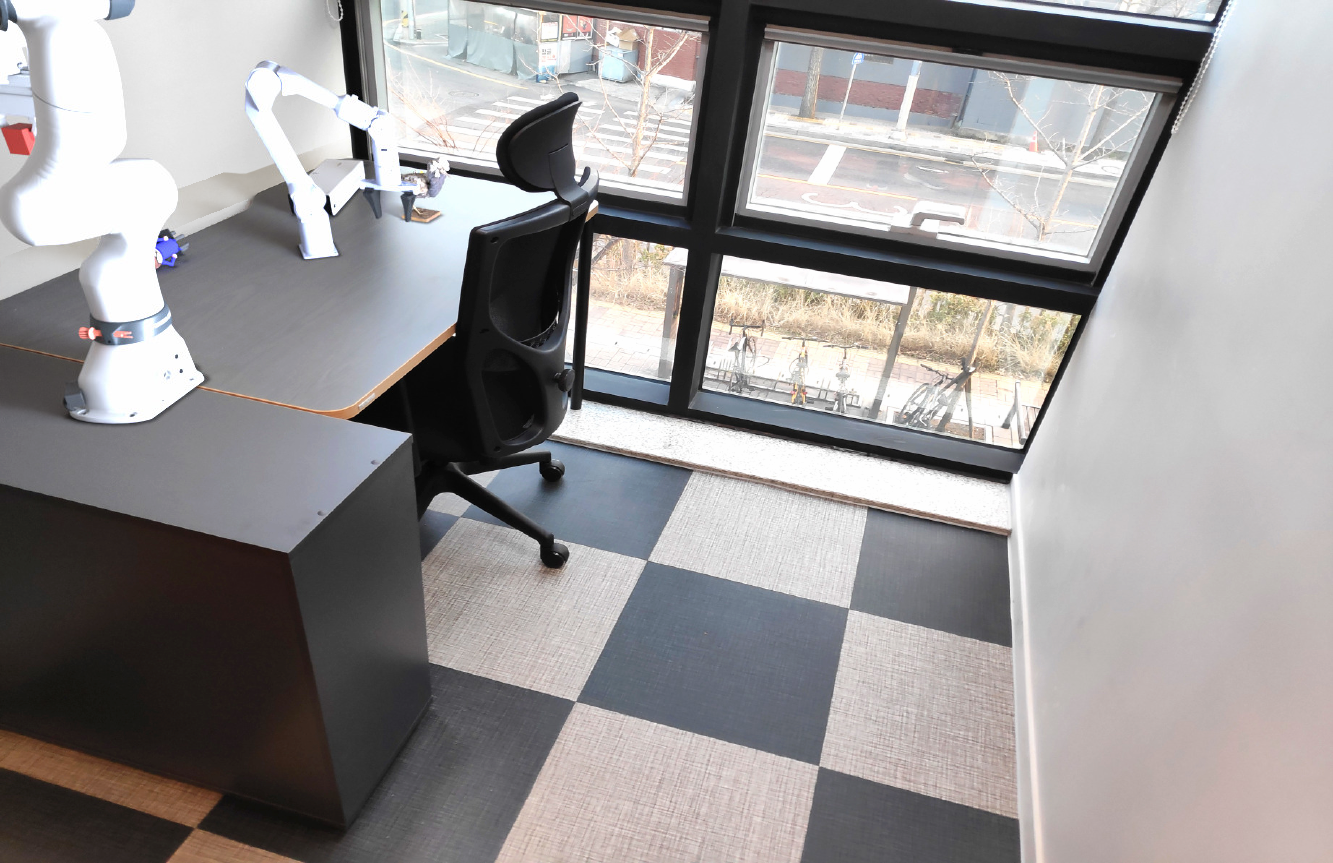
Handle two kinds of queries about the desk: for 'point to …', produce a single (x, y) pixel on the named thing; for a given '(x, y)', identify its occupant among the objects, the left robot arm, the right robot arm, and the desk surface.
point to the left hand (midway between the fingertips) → (24, 138)
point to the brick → (18, 138)
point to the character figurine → (168, 248)
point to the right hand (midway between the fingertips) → (393, 219)
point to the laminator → (336, 182)
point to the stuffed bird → (428, 187)
